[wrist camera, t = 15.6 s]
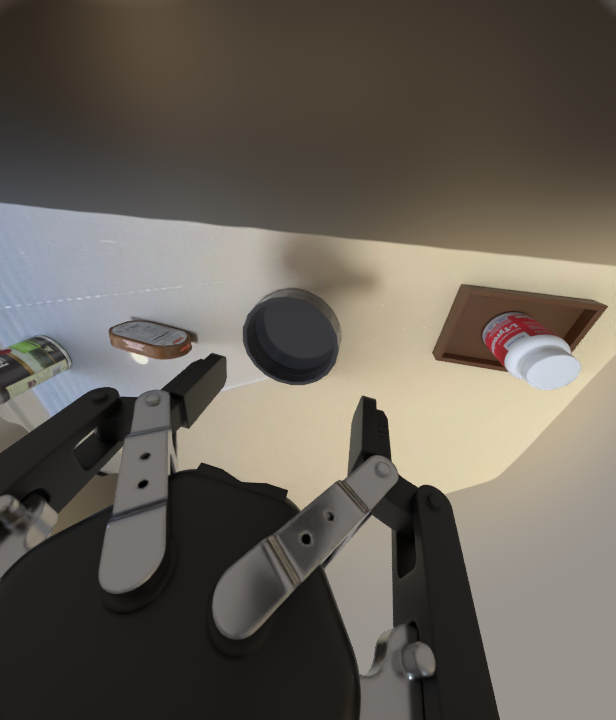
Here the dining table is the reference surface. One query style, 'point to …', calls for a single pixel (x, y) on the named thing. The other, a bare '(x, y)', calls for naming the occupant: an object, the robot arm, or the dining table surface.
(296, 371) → the bowl
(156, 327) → the tin
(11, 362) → the coffee can
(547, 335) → the pill bottle
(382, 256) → the dining table surface
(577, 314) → the tray
